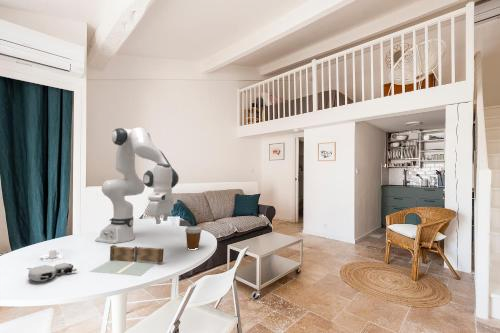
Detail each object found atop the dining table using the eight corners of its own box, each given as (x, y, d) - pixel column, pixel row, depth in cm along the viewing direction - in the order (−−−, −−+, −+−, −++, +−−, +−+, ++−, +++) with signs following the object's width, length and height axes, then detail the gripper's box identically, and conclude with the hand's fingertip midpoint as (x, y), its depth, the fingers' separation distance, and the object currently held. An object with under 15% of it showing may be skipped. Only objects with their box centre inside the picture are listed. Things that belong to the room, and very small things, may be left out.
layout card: (89, 272, 107) (89, 271, 107) (118, 256, 127) (118, 255, 127) (140, 276, 104) (140, 275, 104) (162, 259, 124) (162, 258, 124)
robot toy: (67, 269, 112) (23, 278, 100) (68, 259, 112) (25, 267, 100) (77, 276, 105) (32, 287, 92) (79, 266, 105) (34, 275, 93)
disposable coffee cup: (187, 245, 148) (187, 225, 148) (202, 246, 147) (203, 226, 148) (182, 250, 138) (183, 229, 138) (199, 251, 138) (199, 230, 138)
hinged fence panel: (136, 260, 118) (136, 248, 118) (138, 259, 120) (138, 246, 120) (161, 262, 117) (161, 249, 117) (163, 261, 119) (163, 248, 119)
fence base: (109, 260, 120) (110, 245, 120) (112, 259, 122) (112, 244, 122) (135, 262, 118) (135, 247, 118) (137, 261, 120) (138, 246, 120)
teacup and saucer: (37, 260, 120) (37, 251, 120) (55, 255, 127) (55, 247, 127) (48, 263, 117) (49, 254, 117) (66, 257, 124) (66, 249, 124)
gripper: (166, 193, 135) (165, 217, 135) (146, 197, 115) (145, 226, 115) (176, 193, 135) (176, 218, 134) (159, 197, 114) (158, 227, 114)
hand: (161, 222), depth 124 cm, fingers open, 6 cm apart
